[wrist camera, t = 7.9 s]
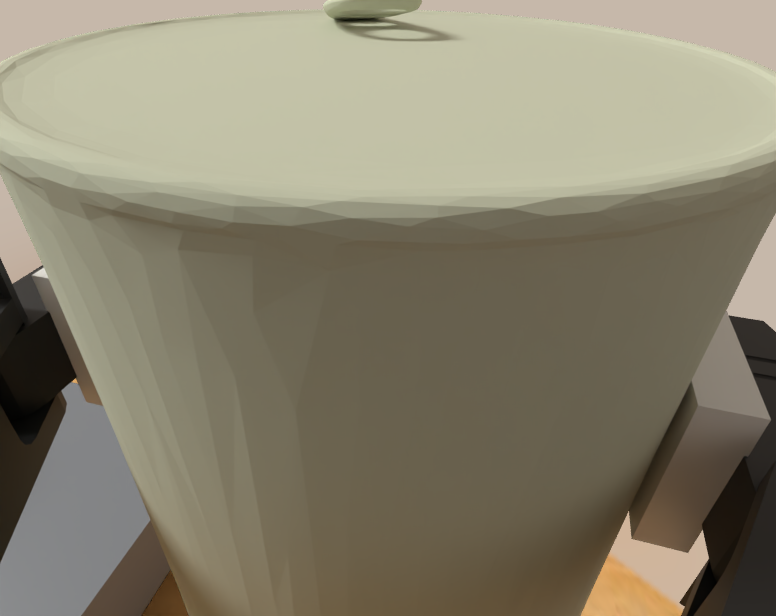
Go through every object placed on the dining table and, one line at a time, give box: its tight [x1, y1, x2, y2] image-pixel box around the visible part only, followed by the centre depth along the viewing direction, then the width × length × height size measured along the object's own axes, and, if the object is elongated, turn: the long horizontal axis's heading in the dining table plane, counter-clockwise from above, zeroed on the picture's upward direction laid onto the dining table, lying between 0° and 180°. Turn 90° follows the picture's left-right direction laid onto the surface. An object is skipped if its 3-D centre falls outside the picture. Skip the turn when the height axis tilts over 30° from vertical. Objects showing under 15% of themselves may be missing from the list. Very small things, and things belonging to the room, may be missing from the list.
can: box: [0, 0, 776, 616], centre depth 10 cm, size 9×9×12 cm
